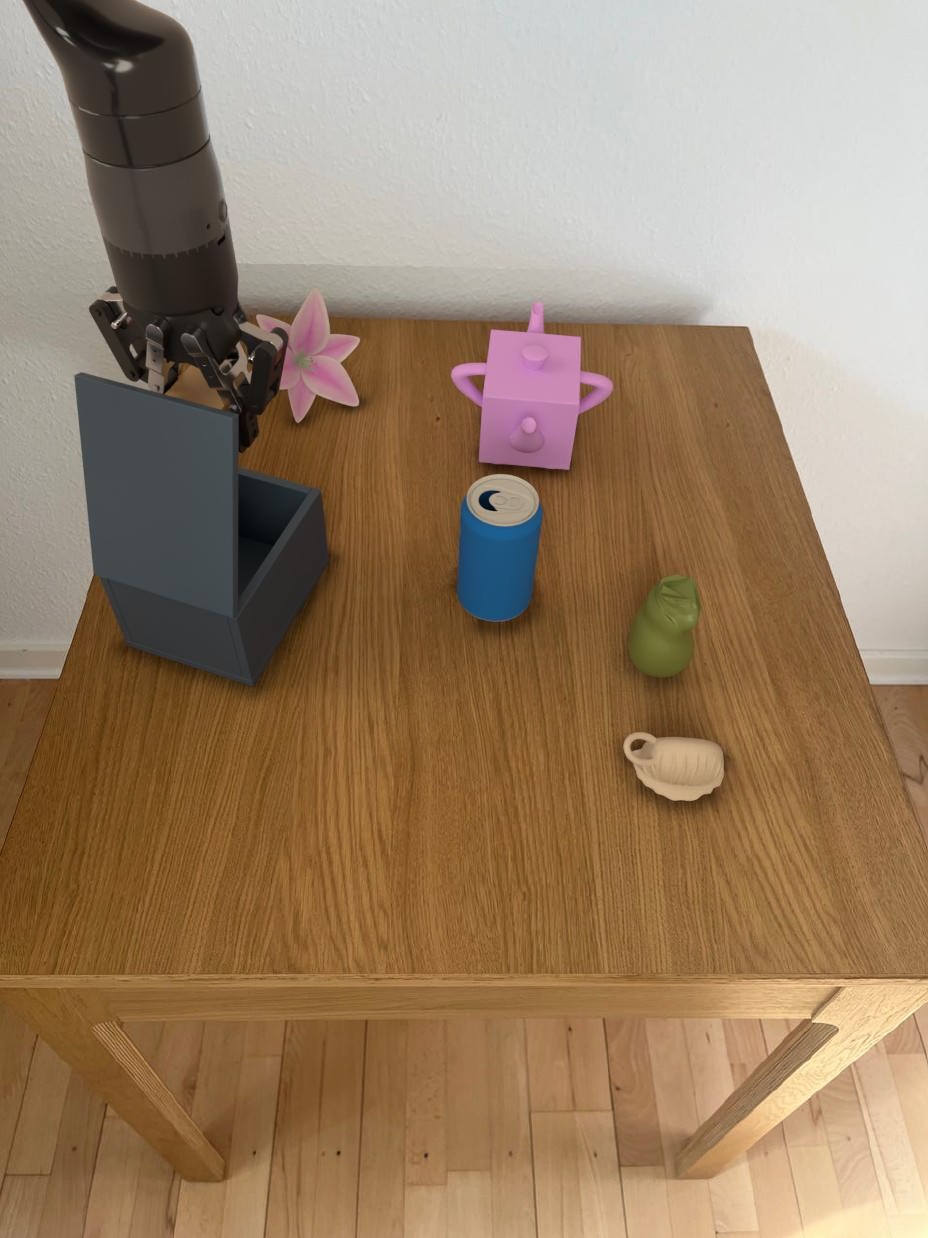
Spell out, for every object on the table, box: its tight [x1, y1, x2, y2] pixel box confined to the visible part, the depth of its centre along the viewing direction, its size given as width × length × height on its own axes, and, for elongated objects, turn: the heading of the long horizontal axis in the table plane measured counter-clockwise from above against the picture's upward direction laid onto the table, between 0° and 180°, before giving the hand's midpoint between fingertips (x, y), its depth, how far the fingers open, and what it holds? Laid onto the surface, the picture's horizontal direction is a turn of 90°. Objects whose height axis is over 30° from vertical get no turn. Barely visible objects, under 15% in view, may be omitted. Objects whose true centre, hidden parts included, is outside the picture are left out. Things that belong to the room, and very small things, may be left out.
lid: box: [73, 371, 239, 617], centre depth 65 cm, size 15×12×1 cm
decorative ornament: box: [622, 731, 725, 802], centre depth 70 cm, size 4×8×5 cm, turn 84°
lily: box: [249, 287, 361, 424], centre depth 96 cm, size 12×12×10 cm
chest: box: [98, 466, 330, 688], centre depth 77 cm, size 15×12×9 cm
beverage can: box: [456, 473, 544, 622], centre depth 77 cm, size 6×6×12 cm
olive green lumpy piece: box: [627, 574, 702, 679], centre depth 74 cm, size 6×5×10 cm
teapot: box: [450, 301, 614, 471], centre depth 91 cm, size 15×13×11 cm
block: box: [165, 364, 237, 411], centre depth 68 cm, size 4×4×4 cm
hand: (213, 435), depth 70 cm, fingers closed on block, 4 cm apart
